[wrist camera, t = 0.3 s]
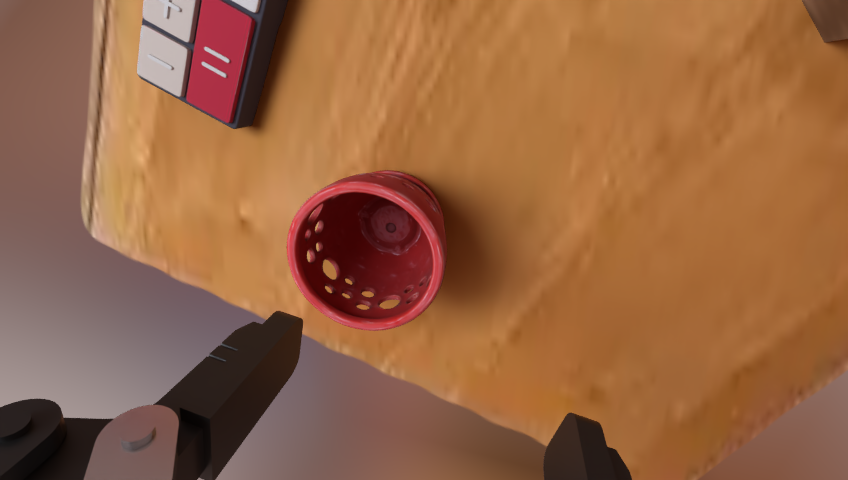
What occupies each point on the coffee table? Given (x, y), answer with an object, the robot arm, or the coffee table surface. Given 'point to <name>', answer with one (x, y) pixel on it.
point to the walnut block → (829, 18)
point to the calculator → (210, 53)
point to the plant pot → (370, 248)
